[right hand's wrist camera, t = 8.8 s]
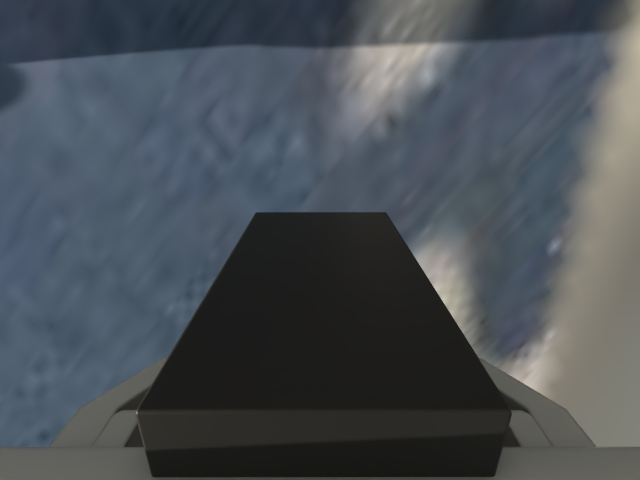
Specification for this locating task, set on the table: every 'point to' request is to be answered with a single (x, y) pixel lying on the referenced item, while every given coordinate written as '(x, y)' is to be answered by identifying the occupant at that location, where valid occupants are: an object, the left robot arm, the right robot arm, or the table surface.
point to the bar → (322, 364)
